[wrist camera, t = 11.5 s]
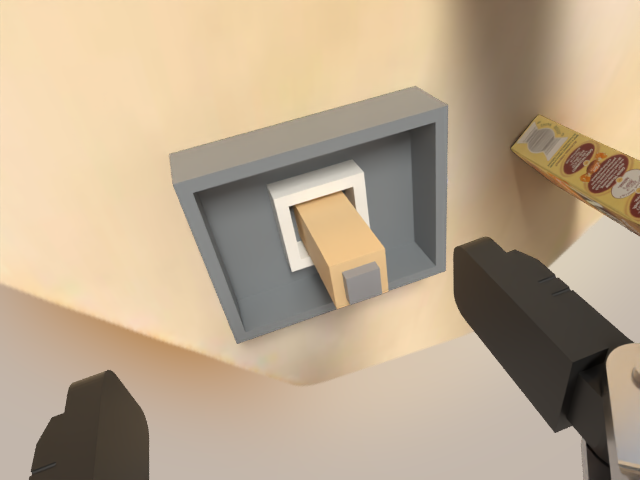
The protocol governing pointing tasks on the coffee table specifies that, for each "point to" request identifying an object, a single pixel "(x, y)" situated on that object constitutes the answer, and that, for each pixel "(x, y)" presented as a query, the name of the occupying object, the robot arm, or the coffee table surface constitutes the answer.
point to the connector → (342, 249)
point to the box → (309, 183)
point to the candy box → (584, 169)
